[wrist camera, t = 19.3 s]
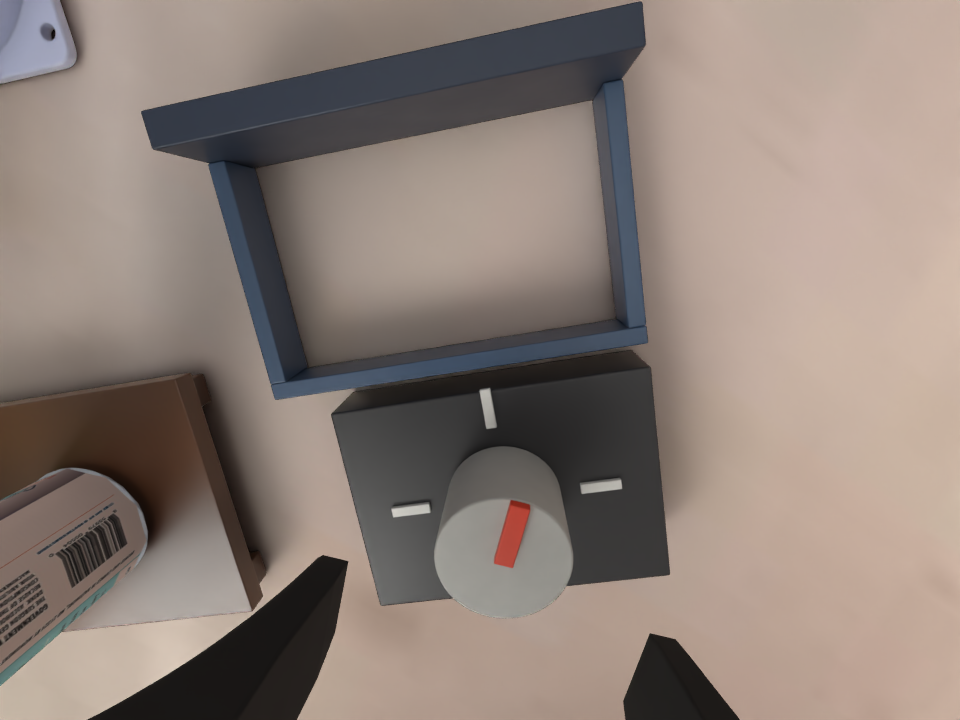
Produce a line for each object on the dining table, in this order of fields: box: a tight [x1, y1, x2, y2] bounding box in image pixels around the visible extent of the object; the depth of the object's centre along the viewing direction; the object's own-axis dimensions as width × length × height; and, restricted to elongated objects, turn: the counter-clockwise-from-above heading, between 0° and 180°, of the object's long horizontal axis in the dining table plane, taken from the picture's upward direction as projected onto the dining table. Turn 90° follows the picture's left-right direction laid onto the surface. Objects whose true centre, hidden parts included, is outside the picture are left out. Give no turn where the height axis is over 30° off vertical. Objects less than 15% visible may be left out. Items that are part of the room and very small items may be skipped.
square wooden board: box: [0, 373, 266, 632], centre depth 20 cm, size 10×10×2 cm
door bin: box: [141, 1, 648, 400], centre depth 16 cm, size 9×13×4 cm
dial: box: [434, 446, 573, 619], centre depth 16 cm, size 4×4×4 cm
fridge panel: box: [331, 350, 670, 606], centre depth 19 cm, size 11×8×3 cm
